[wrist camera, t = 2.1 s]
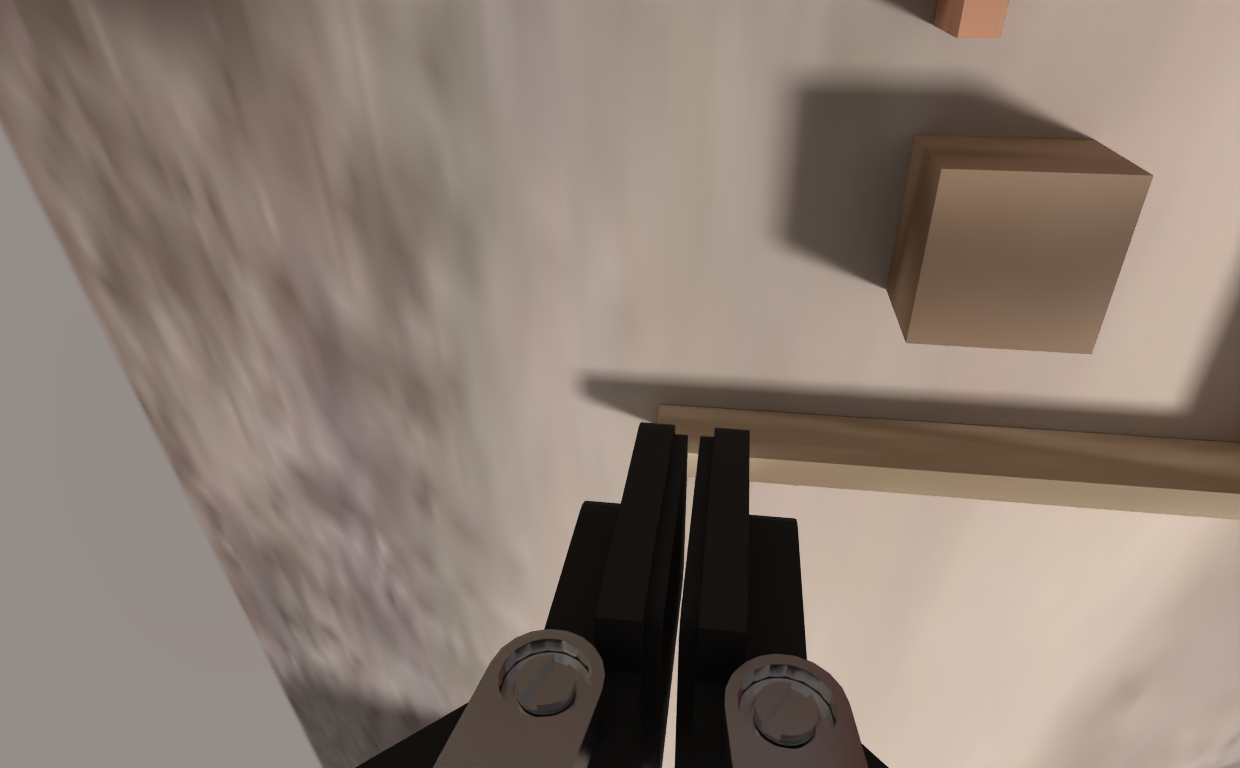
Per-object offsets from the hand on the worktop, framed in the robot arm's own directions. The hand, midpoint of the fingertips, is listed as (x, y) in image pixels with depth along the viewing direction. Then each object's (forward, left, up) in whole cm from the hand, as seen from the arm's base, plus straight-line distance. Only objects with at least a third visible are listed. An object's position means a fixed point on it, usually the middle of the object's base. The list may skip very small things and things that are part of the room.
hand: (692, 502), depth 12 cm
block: (0, -8, -15) cm, 17 cm away
